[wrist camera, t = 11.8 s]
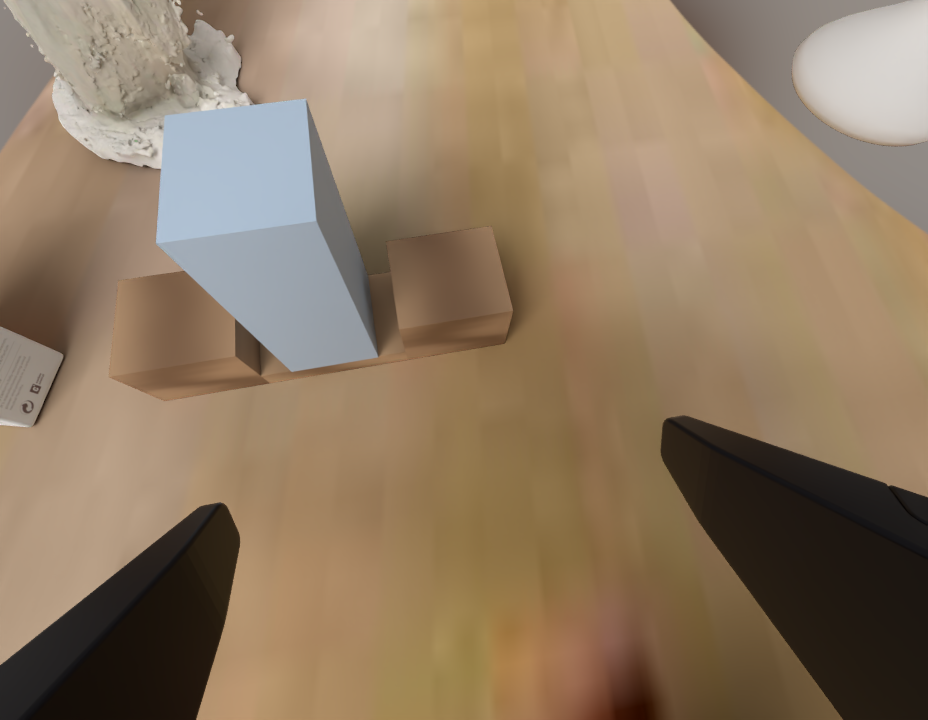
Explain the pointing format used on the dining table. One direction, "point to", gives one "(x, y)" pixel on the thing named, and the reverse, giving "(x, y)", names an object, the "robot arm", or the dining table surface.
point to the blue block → (266, 230)
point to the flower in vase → (869, 74)
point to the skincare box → (24, 377)
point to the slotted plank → (250, 363)
